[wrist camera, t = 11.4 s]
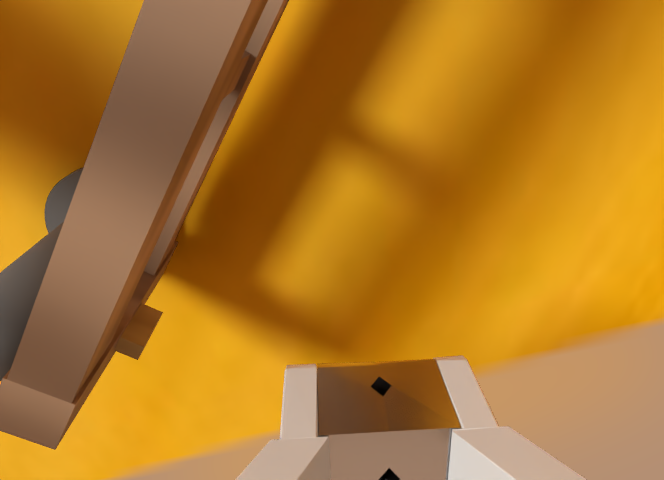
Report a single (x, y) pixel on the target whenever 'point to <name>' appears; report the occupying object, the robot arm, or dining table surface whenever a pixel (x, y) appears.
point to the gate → (132, 202)
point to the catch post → (30, 273)
